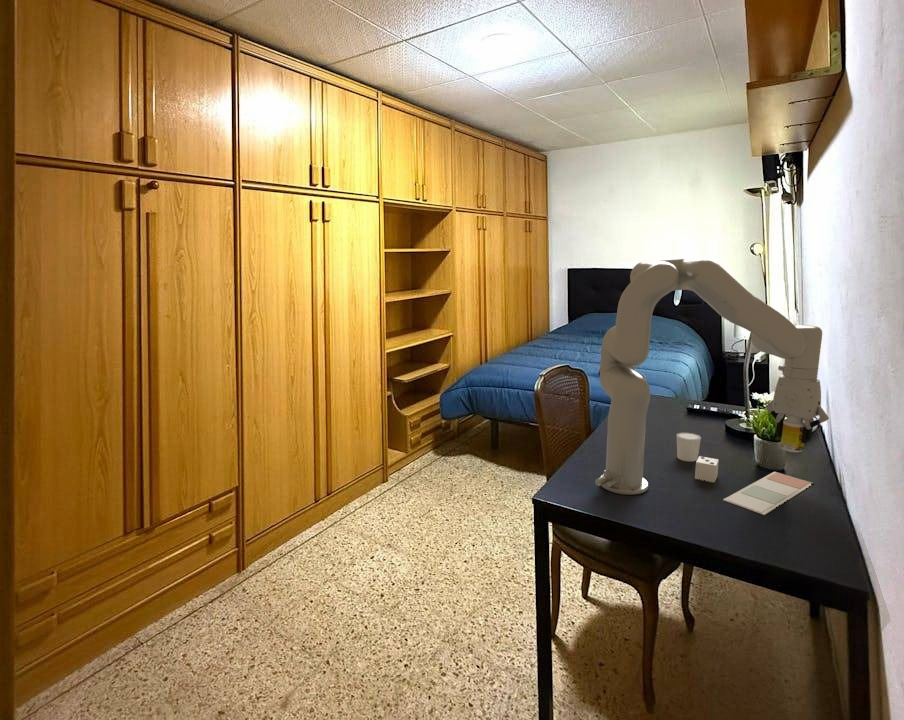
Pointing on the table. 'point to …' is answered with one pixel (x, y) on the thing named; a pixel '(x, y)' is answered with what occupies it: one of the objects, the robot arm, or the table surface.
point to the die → (706, 469)
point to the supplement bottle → (792, 434)
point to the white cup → (688, 446)
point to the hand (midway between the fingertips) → (793, 438)
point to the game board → (768, 492)
